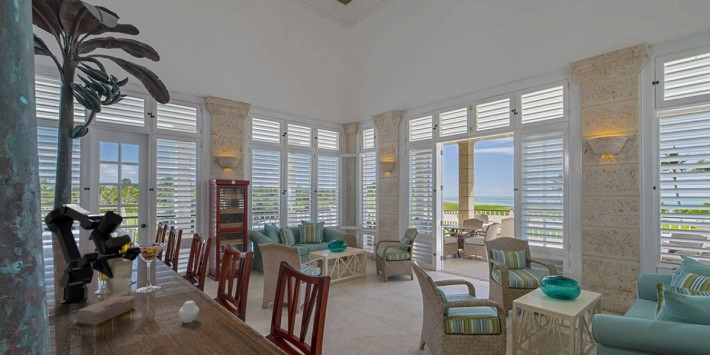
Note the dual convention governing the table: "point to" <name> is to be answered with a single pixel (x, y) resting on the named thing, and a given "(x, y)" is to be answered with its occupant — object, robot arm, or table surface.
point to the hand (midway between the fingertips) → (120, 276)
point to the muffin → (188, 311)
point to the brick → (105, 309)
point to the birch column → (118, 277)
